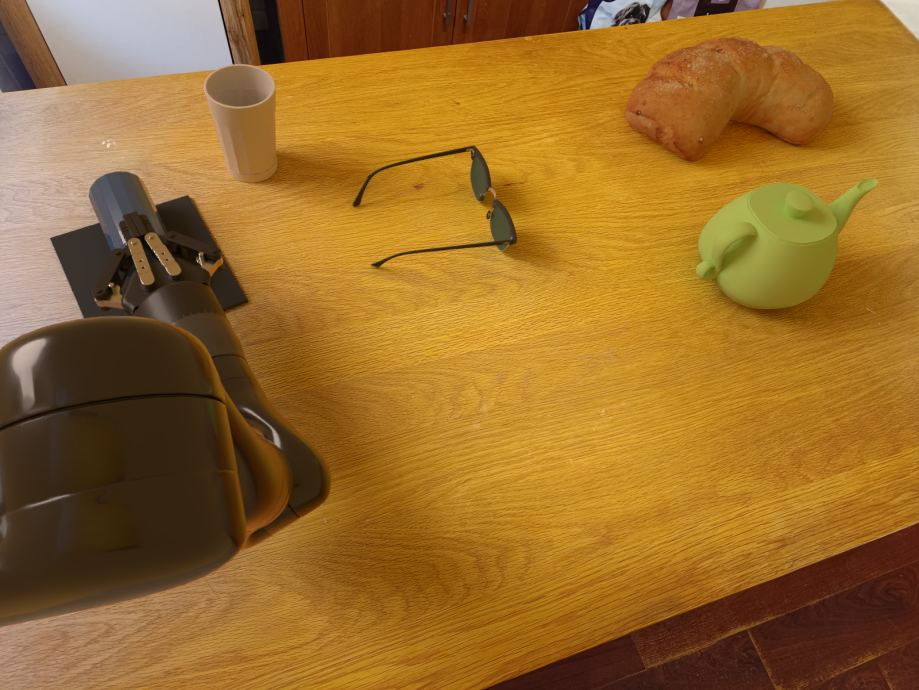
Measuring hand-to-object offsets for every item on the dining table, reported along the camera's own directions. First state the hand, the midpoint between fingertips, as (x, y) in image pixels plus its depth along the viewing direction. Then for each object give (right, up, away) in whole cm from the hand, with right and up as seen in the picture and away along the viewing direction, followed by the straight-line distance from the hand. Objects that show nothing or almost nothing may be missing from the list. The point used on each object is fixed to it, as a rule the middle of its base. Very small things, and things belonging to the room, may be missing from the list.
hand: (130, 218), depth 75 cm
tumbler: (0, -4, +4) cm, 6 cm away
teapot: (+72, -4, +19) cm, 74 cm away
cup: (+7, +10, +19) cm, 23 cm away
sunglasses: (+30, +2, +17) cm, 34 cm away
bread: (+72, +22, +36) cm, 84 cm away
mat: (-1, -5, +8) cm, 9 cm away
